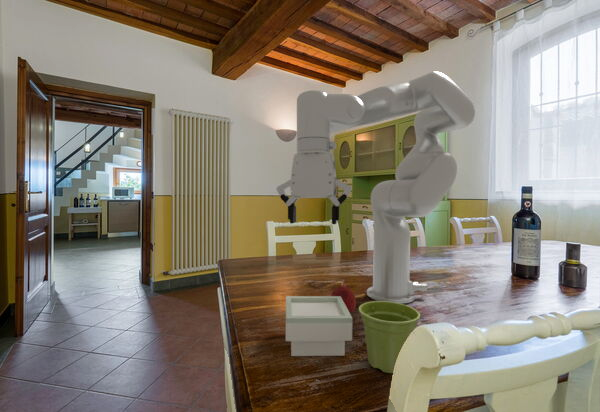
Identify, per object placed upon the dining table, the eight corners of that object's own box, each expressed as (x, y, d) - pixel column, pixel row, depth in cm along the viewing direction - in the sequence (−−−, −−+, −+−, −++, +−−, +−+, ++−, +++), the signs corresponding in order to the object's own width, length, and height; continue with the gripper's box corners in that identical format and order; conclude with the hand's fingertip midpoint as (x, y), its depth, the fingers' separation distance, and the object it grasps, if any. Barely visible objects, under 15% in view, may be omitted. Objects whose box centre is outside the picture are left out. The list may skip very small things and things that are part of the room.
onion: (355, 325, 63) (356, 287, 63) (327, 322, 64) (328, 285, 64) (355, 314, 69) (356, 280, 68) (330, 312, 70) (331, 278, 70)
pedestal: (340, 329, 61) (340, 296, 61) (351, 358, 50) (352, 318, 50) (285, 329, 60) (286, 296, 60) (285, 359, 49) (285, 318, 49)
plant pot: (351, 349, 53) (352, 300, 53) (403, 348, 54) (404, 299, 53) (367, 382, 43) (369, 323, 43) (430, 379, 44) (431, 321, 44)
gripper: (352, 149, 70) (352, 222, 71) (281, 152, 74) (281, 221, 75) (350, 144, 63) (350, 225, 63) (271, 147, 67) (272, 224, 67)
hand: (313, 223), depth 69 cm, fingers open, 9 cm apart
